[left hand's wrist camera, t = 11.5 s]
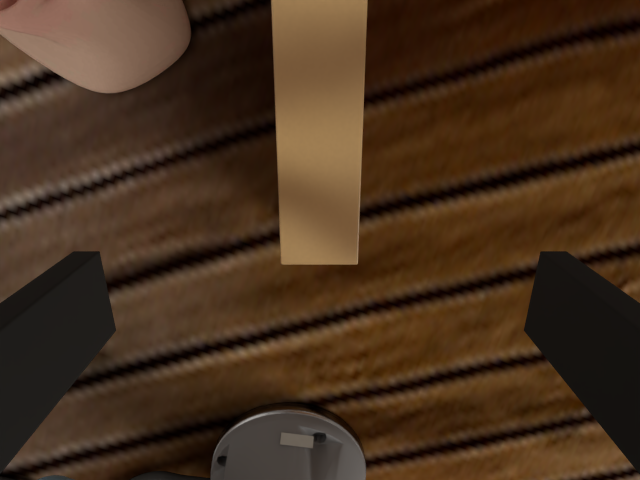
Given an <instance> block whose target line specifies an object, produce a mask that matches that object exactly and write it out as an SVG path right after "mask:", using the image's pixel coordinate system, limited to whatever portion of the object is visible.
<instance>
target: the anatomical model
mask: <svg viewBox="0 0 640 480" xmlns="http://www.w3.org/2000/svg"><path fill="white" fill-rule="evenodd" d="M0 35H2V36H3V37H4V38H6V39H7V40H8V41H9V42H11V43H12V44H13V45H15V46H16V47H17V48H19V49H20V50H22V51H23V52H25V53H26V54H27V55H29V56H30V57H32V58H33V59H35V60H36V61H38V62H39V63H41V64H42V65H44V66H46V67H47V68H49V69H50V70H52V71H53V72H55V73H57V74H58V75H60V76H62V77H64V78H65V79H67V80H69V81H71V82H73V83H75V84H77V85H79V86H81V87H84V88H86V89H89V90H92V91H95V92H101V93H118V92H123V91H126V90H129V89H132V88H135V87H137V86H139V85H141V84H143V83H146V82H147V81H149V80H151V79H152V78H154V77H156V76H157V75H159V74H160V73H161V72H163V71H164V70H166V69H167V68H168V67H170V66H171V65H172V64H173V63H174V62H175V61H177V60H178V59H179V58H180V57H181V55H182V54H183V53H184V52H185V50H186V49H187V47H188V45H189V42H190V38H191V28H190V22H189V19H188V15H187V12H186V9H185V6H184V3H183V1H182V0H0Z"/></svg>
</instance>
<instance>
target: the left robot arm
mask: <svg viewBox="0 0 640 480" xmlns="http://www.w3.org/2000/svg"><path fill="white" fill-rule="evenodd" d="M115 331H116V328H115V323H114V318H113V314H112V309H111V304H110V299H109V295H108V290H107V285H106V280H105V276H104V271H103V266H102V261H101V257H100V252H72V253H71V254H69V255H68V256H67V257H65V258H64V259H62V260H61V261H60V262H58V263H57V264H55V265H54V266H52V267H51V268H50V269H48V270H47V271H45V272H44V273H43V274H41V275H40V276H38V277H37V278H35V279H34V280H33V281H31V282H30V283H28V284H27V285H26V286H24V287H23V288H21V289H20V290H18V291H17V292H16V293H14V294H13V295H11V296H10V297H9V298H7V299H6V300H4V301H3V302H1V303H0V474H1V472H2V471H3V470H4V469H5V467H6V466H7V465H8V464H9V463H10V461H11V460H12V459H13V458H14V456H15V455H16V454H17V453H18V451H19V450H20V449H21V448H22V446H23V445H24V444H25V443H26V441H27V440H28V439H29V438H30V436H31V435H32V434H33V433H34V432H35V430H36V429H37V428H38V427H39V425H40V424H41V423H42V422H43V420H44V419H45V418H46V417H47V415H48V414H49V413H50V412H51V410H52V409H53V408H54V407H55V405H56V404H57V403H58V402H59V401H60V399H61V398H62V397H63V396H64V394H65V393H66V392H67V391H68V389H69V388H70V387H71V386H72V384H73V383H74V382H75V381H76V379H77V378H78V377H79V376H80V374H81V373H82V372H83V371H84V370H85V368H86V367H87V366H88V365H89V363H90V362H91V361H92V360H93V358H94V357H95V356H96V355H97V353H98V352H99V351H100V350H101V348H102V347H103V346H104V345H105V343H106V342H107V341H108V340H109V339H110V337H111V336H112V335H113V334H114V332H115ZM524 331H525V332H526V334H527V335H528V336H529V337H530V339H531V340H532V341H533V342H534V343H535V345H536V346H537V347H538V348H539V350H540V351H541V352H542V353H543V355H544V356H545V357H546V358H547V360H548V361H549V362H550V363H551V365H552V366H553V367H554V368H555V370H556V371H557V372H558V373H559V374H560V376H561V377H562V378H563V379H564V381H565V382H566V383H567V384H568V386H569V387H570V388H571V389H572V391H573V392H574V393H575V394H576V396H577V397H578V398H579V399H580V401H581V402H582V403H583V404H584V405H585V407H586V408H587V409H588V410H589V412H590V413H591V414H592V415H593V417H594V418H595V419H596V420H597V422H598V423H599V424H600V425H601V427H602V428H603V429H604V430H605V432H606V433H607V434H608V435H609V436H610V438H611V439H612V440H613V441H614V443H615V444H616V445H617V446H618V448H619V449H620V450H621V451H622V453H623V454H624V455H625V456H626V458H627V459H628V460H629V461H630V463H631V464H632V465H633V466H634V467H635V469H636V470H637V471H638V472H639V474H640V303H639V302H637V301H636V300H634V299H633V298H631V297H630V296H629V295H627V294H626V293H624V292H623V291H622V290H620V289H619V288H617V287H616V286H614V285H613V284H612V283H610V282H609V281H607V280H606V279H605V278H603V277H602V276H600V275H599V274H597V273H596V272H595V271H593V270H592V269H590V268H589V267H588V266H586V265H585V264H583V263H582V262H580V261H579V260H578V259H576V258H575V257H573V256H572V255H571V254H569V253H568V252H540V257H539V261H538V266H537V271H536V276H535V280H534V285H533V290H532V295H531V299H530V304H529V309H528V314H527V318H526V323H525V328H524ZM0 480H18V479H13V478H7V477H2V476H0ZM38 480H74V479H71V478H68V477H65V476H59V475H52V476H47V477H43V478H40V479H38ZM130 480H366V464H365V455H364V450H363V447H362V444H361V442H360V439H359V438H358V436H357V434H356V433H355V432H354V431H353V429H352V428H351V427H350V426H349V425H348V424H347V423H345V422H344V421H343V420H342V419H340V418H339V417H337V416H336V415H334V414H332V413H330V412H328V411H326V410H323V409H320V408H317V407H314V406H310V405H305V404H297V403H277V404H270V405H266V406H262V407H258V408H255V409H253V410H250V411H248V412H246V413H244V414H242V415H241V416H239V417H237V418H236V419H235V420H234V421H232V422H231V423H230V424H229V425H228V426H227V427H226V428H225V430H224V431H223V432H222V434H221V435H220V437H219V439H218V441H217V444H216V448H215V451H214V455H213V459H212V466H211V478H205V477H195V476H187V475H180V474H175V473H171V472H166V471H154V472H148V473H144V474H141V475H138V476H136V477H134V478H132V479H130Z"/></svg>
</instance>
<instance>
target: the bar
mask: <svg viewBox="0 0 640 480" xmlns="http://www.w3.org/2000/svg"><path fill="white" fill-rule="evenodd" d="M271 10H272V36H273V63H274V90H275V117H276V143H277V170H278V197H279V224H280V250H281V264H358V244H359V217H360V190H361V162H362V135H363V108H364V81H365V53H366V26H367V0H271Z"/></svg>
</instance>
